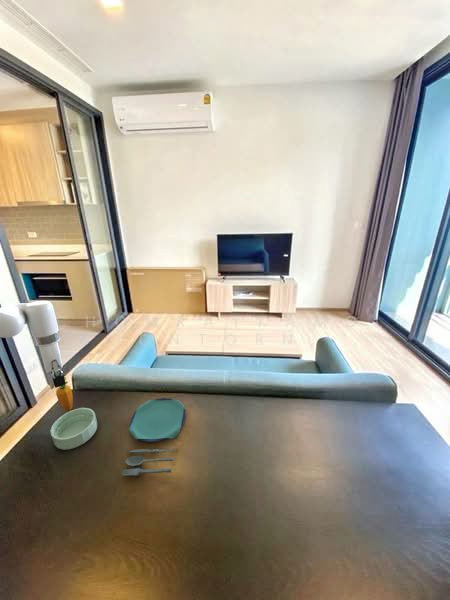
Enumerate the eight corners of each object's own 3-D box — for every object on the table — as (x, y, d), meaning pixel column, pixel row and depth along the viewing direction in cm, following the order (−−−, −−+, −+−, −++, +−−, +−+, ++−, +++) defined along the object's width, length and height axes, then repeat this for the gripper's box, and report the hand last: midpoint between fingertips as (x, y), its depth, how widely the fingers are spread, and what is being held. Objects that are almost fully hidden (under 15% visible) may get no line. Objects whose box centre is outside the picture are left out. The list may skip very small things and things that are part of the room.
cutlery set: (189, 401, 101) (188, 396, 100) (177, 476, 73) (177, 470, 72) (139, 402, 100) (139, 397, 99) (109, 478, 72) (107, 472, 71)
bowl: (57, 458, 78) (53, 447, 76) (51, 431, 88) (48, 420, 86) (102, 435, 86) (99, 424, 84) (92, 412, 95) (89, 402, 94)
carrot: (73, 404, 99) (64, 373, 94) (79, 410, 97) (70, 378, 91) (59, 412, 96) (49, 380, 90) (65, 418, 93) (55, 386, 88)
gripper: (31, 331, 88) (42, 371, 94) (36, 351, 76) (49, 396, 82) (56, 325, 93) (65, 364, 99) (64, 343, 81) (74, 386, 86)
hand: (58, 378), depth 90 cm, fingers open, 9 cm apart
